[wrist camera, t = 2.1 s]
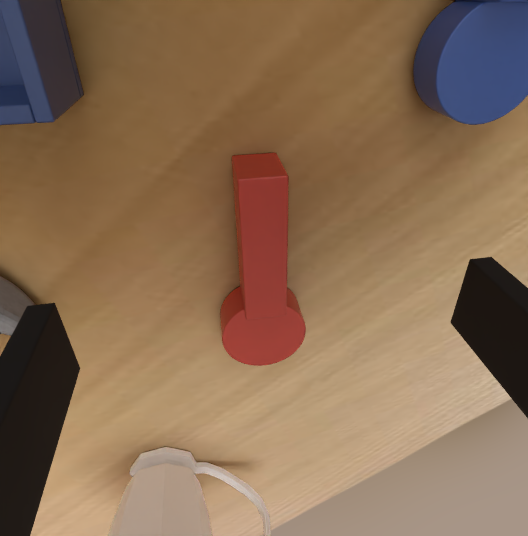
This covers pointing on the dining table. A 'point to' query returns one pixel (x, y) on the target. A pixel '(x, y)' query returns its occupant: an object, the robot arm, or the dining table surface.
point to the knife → (11, 306)
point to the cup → (172, 496)
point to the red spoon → (261, 267)
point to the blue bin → (35, 62)
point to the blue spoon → (474, 60)
